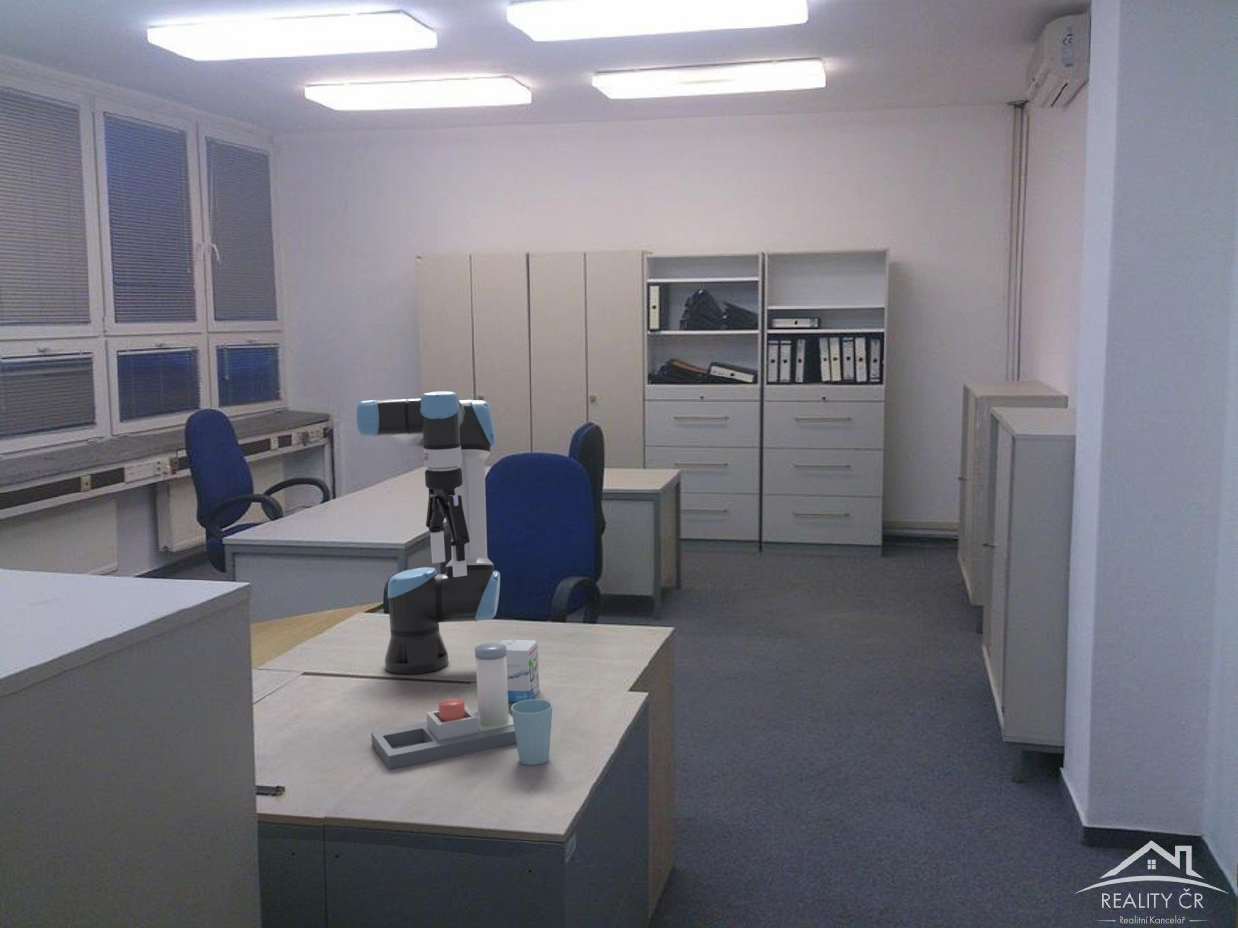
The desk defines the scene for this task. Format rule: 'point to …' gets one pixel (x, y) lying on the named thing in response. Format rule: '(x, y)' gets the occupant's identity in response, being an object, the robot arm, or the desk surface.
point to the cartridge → (492, 684)
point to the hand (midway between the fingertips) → (449, 569)
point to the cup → (532, 730)
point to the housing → (440, 739)
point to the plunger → (451, 710)
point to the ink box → (521, 669)
